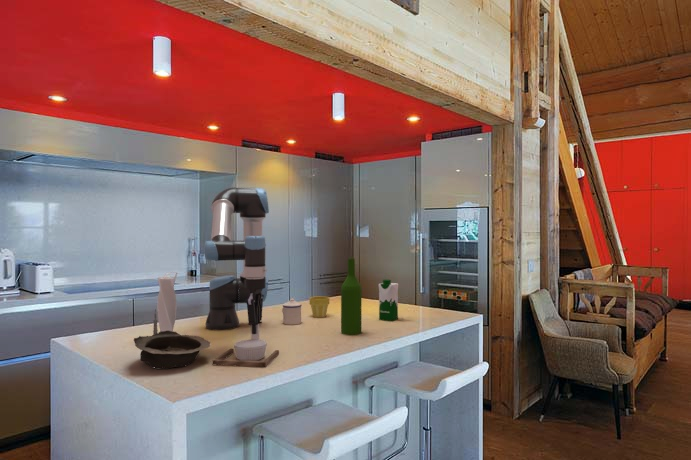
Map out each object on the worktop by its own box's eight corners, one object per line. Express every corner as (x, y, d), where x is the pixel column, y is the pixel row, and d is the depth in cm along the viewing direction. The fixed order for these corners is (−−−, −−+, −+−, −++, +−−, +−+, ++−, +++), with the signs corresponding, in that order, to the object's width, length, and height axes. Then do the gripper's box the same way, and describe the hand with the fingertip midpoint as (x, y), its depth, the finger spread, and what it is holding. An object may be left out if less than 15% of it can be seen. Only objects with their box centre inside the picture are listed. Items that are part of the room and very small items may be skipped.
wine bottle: (365, 332, 196) (365, 258, 196) (352, 336, 190) (351, 259, 189) (350, 329, 202) (350, 257, 202) (336, 332, 196) (336, 258, 196)
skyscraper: (172, 336, 190) (172, 270, 190) (180, 340, 184) (180, 272, 184) (152, 340, 184) (152, 272, 184) (160, 343, 178) (160, 273, 178)
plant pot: (311, 314, 238) (311, 295, 238) (330, 314, 237) (330, 296, 237) (307, 318, 228) (307, 298, 228) (327, 318, 227) (327, 299, 227)
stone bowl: (124, 359, 155) (127, 332, 156) (197, 353, 170) (199, 328, 170) (139, 377, 135) (141, 346, 136) (219, 369, 150) (221, 341, 150)
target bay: (212, 364, 150) (212, 360, 150) (230, 352, 165) (230, 348, 165) (265, 367, 147) (265, 362, 147) (278, 354, 162) (278, 350, 162)
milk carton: (376, 320, 223) (376, 279, 223) (385, 316, 231) (385, 278, 231) (392, 321, 218) (392, 281, 218) (400, 318, 226) (400, 279, 226)
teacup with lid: (305, 323, 216) (305, 298, 216) (290, 325, 210) (290, 301, 210) (290, 319, 225) (290, 296, 225) (275, 322, 218) (275, 298, 218)
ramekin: (231, 355, 160) (231, 341, 160) (261, 352, 165) (261, 337, 165) (238, 364, 150) (238, 348, 150) (270, 359, 155) (270, 344, 155)
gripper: (259, 280, 157) (259, 347, 157) (270, 276, 170) (270, 338, 170) (238, 279, 158) (238, 346, 158) (251, 275, 171) (251, 337, 171)
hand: (255, 342), depth 164 cm, fingers closed
